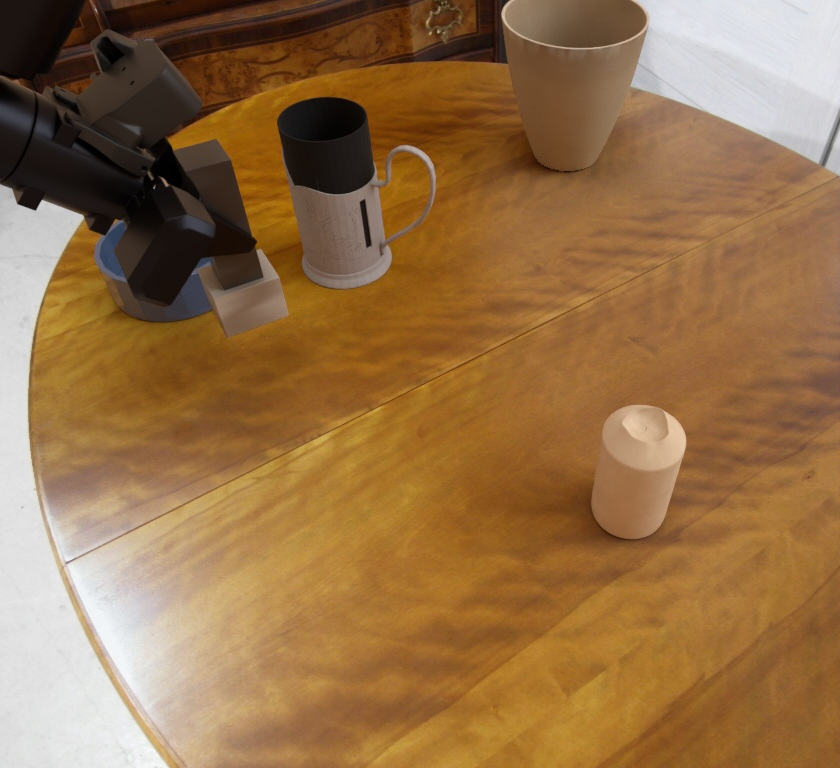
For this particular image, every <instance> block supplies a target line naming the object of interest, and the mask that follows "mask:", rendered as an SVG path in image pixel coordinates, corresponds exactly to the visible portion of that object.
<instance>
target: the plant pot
mask: <svg viewBox="0 0 840 768" xmlns="http://www.w3.org/2000/svg"><path fill="white" fill-rule="evenodd" d="M500 17H501V25H502V31H503V32H502V33H503V40H504V46H505V53H506V60H507V65H508V71H509V76H510V80H511V86H512V89H513V93H514V98H515V102H516V105H517V109H518V112H519V116H520V119H521V123H522V126H523V129H524V132H525V134H526V137H527V140H528V142H529V145H530V148H531V150H532V153H533V156H534V158H535V160H536V159H537V160H536V161H537V162H538V164H540V163H541V164H540V165H542V166H543V165H544V166H543V167H545V166H546V167H545V168H547V167H548V168H547V169H549V168H550V170H553V169H555V170H554V171H556V170H559V171H558V172H564V171H571V172H576V171H575V170H579V171H581V170H580V169H583V170H585V169H588V168H589V167H591V166H593V165H594V164H595V163H596V161H597V160H598V158H599V157H600V155H601V153H602V151H603V149H604V147H605V145H606V144H607V141H608V140H609V137H610V135H611V133H612V131H613V129H614V127H615V125H616V123H617V120H618V118H619V116H620V113H621V111H622V109H623V106H624V103H625V101H626V98H627V96H628V93H629V90H630V88H631V85H632V82H633V79H634V76H635V73H636V71H637V67H638V64H639V60H640V58H641V54H642V50H643V47H644V43H645V39H646V36H647V33H648V29H649V25H650V20H651V19H650V15H649V11H648V10H647V9H646V8H645V7H644V6H643V5H642V4H641V3H640V2H639V1H637V0H508V1H507V2H506V3H505V4H504V6H503V7H502V10H501V14H500ZM587 167H588V168H587ZM584 168H585V169H584Z"/></svg>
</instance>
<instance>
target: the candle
mask: <svg viewBox="0 0 840 768" xmlns="http://www.w3.org/2000/svg"><path fill="white" fill-rule="evenodd" d="M686 448H687V436H686V433H685V430H684V428H683V427H682V424H681V423H680V422H679V421H678V420H677V419H676V418H675V417H674V416H673V415H671V414H670V413H669V412H667V411H665V410H664V409H662V408H661V407H658V406H652V405H648V404H632V405H626V406H623V407H620V408H618V409H617V410H615V411H614V412H612V413H611V414H610V415H609V416H608V417H607V418H606V420H605V422H604V423H603V426H602V431H601V438H600V443H599V449H598V456H597V461H596V466H595V467H596V468H595V473H594V480H593V481H594V482H593V486H592V492H591V500H590V506H591V507H590V508H591V512H592V515H593V517H594V519H595V521H596V523H597V524H598V525H599V526H600V527H601V528H602V529H603V530H604V531H605V532H607V533H609V534H610V535H612V536H614V537H617V538H620V539H625V540H638V539H639V540H640V539H644V538H646V537H649V536H651V535H653V534H654V533H655V532H657V531H658V529H659V528H660V527H661V525H662V524H663V522H664V520H665V517H666V515H667V512H668V508H669V505H670V502H671V499H672V495H673V492H674V489H675V485H676V482H677V478H678V475H679V472H680V468H681V465H682V462H683V458H684V456H685V452H686Z"/></svg>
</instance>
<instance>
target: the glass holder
mask: <svg viewBox="0 0 840 768" xmlns="http://www.w3.org/2000/svg"><path fill="white" fill-rule="evenodd" d="M276 125H277V130H278V135H279V139H280V143H281V157H282V163H283V167H284V171H285V175H286V179H287V183H288V188H289V193H290V198H291V203H292V205H293V210H294V214H295V219H296V225H297V228H298V232H299V238H300V242H301V246H302V250H303V255H302V259H301V268H302V271H303V273H304V275H305V276H306V277H307V278H308V279H309V280H310V281H311V282H312V283H314V284H316V285H319V286H321V287H324V288H327V289H334V290H350V289H356V288H360V287H363V286H367V285H369V284H372V283H373V282H376V281H377V280H379V279H380V278H381V277H382V276H384V275H385V274H386V273H387V271H388V270H389V269H390V267H391V265H392V262H393V261H392V260H393V253H392V250H391V247H390V246H389V245H390V244H391V243H393V242H395V241H396V240H398V239H399V238H401V237H403V236H404V235H407V234H408V233H410V232H411V231H412V230H414V229H416V228H417V227H419V226H420V225H421V224H423V222H424V221H425V219H426V218H427V216H428V214H429V213H430V210H431V208H432V206H433V204H434V200H435V196H436V191H437V183H436V182H437V175H436V170H435V165H434V164H433V162H432V160H431V158H430V157H429V156H428V155H427V154H426V153H425V152H424V151H423V150H421V149H419V148H418V147H416V146H412V145H409V144H403V145H398V146H397V147H394V148H393V149H392V150H391V151H390V152H389V153H388V154H387V157H386V160H385V163H384V164H385V165H384V172H385V180H380V179H379V180H378V172H377V171H378V170H377V166H376V163H375V161H374V157H373V149H372V140H371V133H370V125H369V118H368V112H367V109H365V108H364V107H363V105H361V104H360V103H359V102H356V101H354V100H352V99H349V98H344V97H337V96H318V97H311V98H307V99H302V100H299V101H297V102H294V103H293V104H291V105H289V106H287V107H285V109H282V111H281V112H280V113H279V115H278V116H277V119H276ZM399 153H408V154H412V155H414V156H415V157H418V158H419V159H420V160H421V161H422V162H423V163H424V165H425V167H426V168H427V170H428V174H429V180H430V181H429V182H430V184H429V185H430V186H429V196H428V199H427V200H428V202H427V204H426V206H425V208H424V209H423V212H422V213H421V215H420V216H419V218H417V219H416V220H415V221H414V222H412V223H411V224H410V225H408V226H406V227H405V228H403V229H402V230H399V231H398V232H395V233H394V234H393V235H391V236H389V237H388V238H387V239H386V234H385V228H384V220H383V210H382V203H381V196H380V194H381V193H380V188H385V187H386V186H388V185H389V184H390V182H391V180H392V161H393V158H394V157H395V155H396V154H399Z"/></svg>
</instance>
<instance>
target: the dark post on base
mask: <svg viewBox="0 0 840 768" xmlns="http://www.w3.org/2000/svg"><path fill="white" fill-rule="evenodd" d="M172 152H173V155H174V158H175V161H176V164H177V167H178V170H179V173H180V175H181V178H182V181H183V184H184V182H185V180H186V179H187V177H188V176H190V177H191V179H192V180H193V182H194V183H195V185H196V187H197V188H198V190H199V192H200V193H201V195H202V197H203V200H204V206H205V207H207V208H208V209H210V210H211V211H213V212H215V213H216V214H218V215H220V216H221V217H223V218H224V219H226V220H228V221H229V222H231V223H233V224H234V225H236V226H237V227H239V228H241V229H242V230H244V231H245V232H247V233H248V234H250V235H251V236H253V233H252V230H251V226H250V222H249V219H248V216H247V213H246V212H247V211H246V208H245V205H244V202H243V201H244V200H243V197H242V194H241V190H240V187H239V184H238V181H237V176H236V173H235V170H234V169H235V168H234V165H233V162H232V159H231V158H230V156H229V154H228V153H227V151H226V150H225V149H224V147H223V145H222V144H221V143H220V142H219V140H218V139H217V138H214V139H211V140H207V141H206V140H205V141H203V142H199V143H195V144H192V145H187V146H183V147H180V148H177V149H173V151H172ZM208 258H209V261H210V264H211V265H210V266H207V267H203V268H200V269H198V273H199V276H200V279H201V282H202V284H203V287H204V290H205V293H206V295H207V298H208V301H209V304H210V307H211V309H212V310H211V311H212V313H213V315H214V316H215V319H216V320H217V322H218V324H219V325H220V327H221V329H222V331H223V333H224V335H225V337H226V338H227V339H231V338H232V337H235V336H238V335H240V334H243V333H246V332H249V331H252V330H254V329H257V328H260V327H262V326H265V325H268V324H270V323H274V322H276V321H280V320H281V319H285V318H287V317H289V316H290V313H289V309H288V307H287V302H286V298H285V294H284V290H283V286H282V283H281V282H282V281H281V279H280V276H279V274H278V273H277V271H276V270H275V268H274V267H273V265H272V264H271V262H270V260H269V259H268V257H267V256H266V254H265V253H264V251H263V250H262V248H259V249H257V248H256V246H255V247H254V248H253V250H252V251H251V252H250V253H244V254H235V255H226V256H217V257H208Z"/></svg>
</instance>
